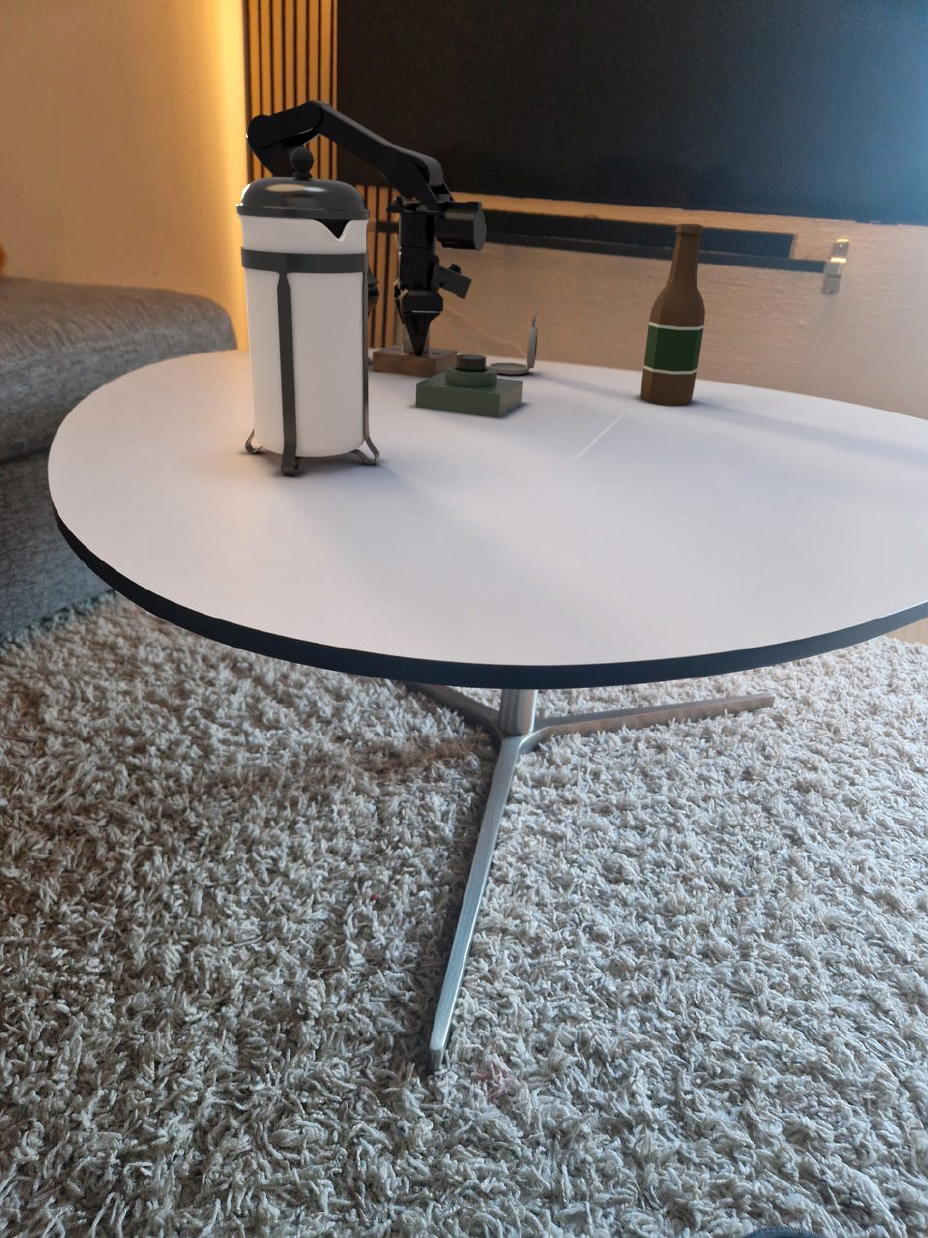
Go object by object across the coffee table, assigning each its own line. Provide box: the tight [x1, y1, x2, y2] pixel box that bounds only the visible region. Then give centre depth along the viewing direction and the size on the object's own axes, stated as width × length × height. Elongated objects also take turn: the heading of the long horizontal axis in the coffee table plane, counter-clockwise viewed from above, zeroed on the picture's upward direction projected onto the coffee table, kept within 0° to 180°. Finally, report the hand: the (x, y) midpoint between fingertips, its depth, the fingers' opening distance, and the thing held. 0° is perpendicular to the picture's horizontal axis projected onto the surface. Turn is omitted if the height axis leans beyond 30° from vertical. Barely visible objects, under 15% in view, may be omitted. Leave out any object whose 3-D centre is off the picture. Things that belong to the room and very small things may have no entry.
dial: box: [401, 324, 431, 353], centre depth 144 cm, size 4×4×4 cm
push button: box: [456, 353, 487, 372], centre depth 122 cm, size 4×4×2 cm
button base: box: [415, 365, 524, 419], centre depth 123 cm, size 12×10×5 cm
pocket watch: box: [488, 310, 538, 376], centre depth 145 cm, size 8×8×10 cm
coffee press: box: [235, 146, 381, 476], centre depth 92 cm, size 17×16×30 cm
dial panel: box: [372, 343, 458, 378], centre depth 146 cm, size 11×9×3 cm
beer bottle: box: [639, 222, 706, 406], centre depth 128 cm, size 8×8×24 cm
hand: (415, 350), depth 145 cm, fingers open, 9 cm apart
